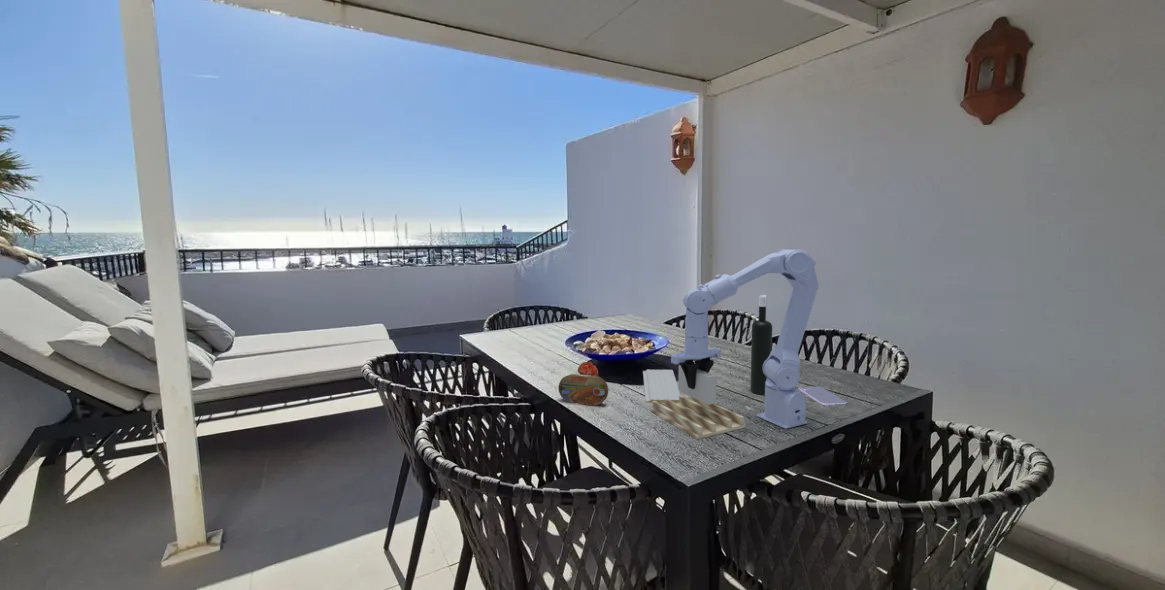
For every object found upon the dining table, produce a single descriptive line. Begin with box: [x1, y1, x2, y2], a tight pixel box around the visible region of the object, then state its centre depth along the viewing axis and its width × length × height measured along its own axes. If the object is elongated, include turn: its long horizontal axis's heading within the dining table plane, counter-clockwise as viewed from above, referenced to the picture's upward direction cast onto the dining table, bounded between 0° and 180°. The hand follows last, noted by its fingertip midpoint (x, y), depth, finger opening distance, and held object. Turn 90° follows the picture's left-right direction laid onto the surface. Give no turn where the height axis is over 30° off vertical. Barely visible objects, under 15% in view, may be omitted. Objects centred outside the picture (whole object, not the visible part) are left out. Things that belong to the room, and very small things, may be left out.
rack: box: [650, 395, 747, 440], centre depth 119 cm, size 20×15×3 cm
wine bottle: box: [749, 294, 773, 396], centre depth 137 cm, size 6×6×30 cm
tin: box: [558, 373, 609, 407], centre depth 132 cm, size 15×3×8 cm, turn 68°
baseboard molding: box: [640, 365, 682, 404], centre depth 147 cm, size 31×3×12 cm
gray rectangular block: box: [678, 365, 717, 405], centre depth 118 cm, size 12×2×7 cm, turn 25°
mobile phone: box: [797, 386, 848, 406], centre depth 134 cm, size 8×1×15 cm
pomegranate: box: [577, 361, 599, 377], centre depth 152 cm, size 7×7×10 cm
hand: (696, 387), depth 118 cm, fingers closed on gray rectangular block, 2 cm apart
